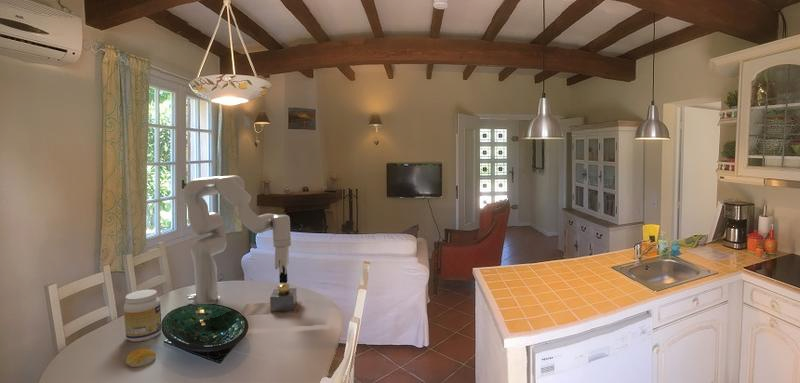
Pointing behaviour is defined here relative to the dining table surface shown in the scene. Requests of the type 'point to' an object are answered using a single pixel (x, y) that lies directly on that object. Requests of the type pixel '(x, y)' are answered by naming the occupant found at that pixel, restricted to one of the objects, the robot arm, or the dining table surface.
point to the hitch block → (283, 301)
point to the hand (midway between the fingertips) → (283, 282)
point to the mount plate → (264, 309)
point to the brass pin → (283, 288)
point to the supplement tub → (142, 315)
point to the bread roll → (140, 357)
